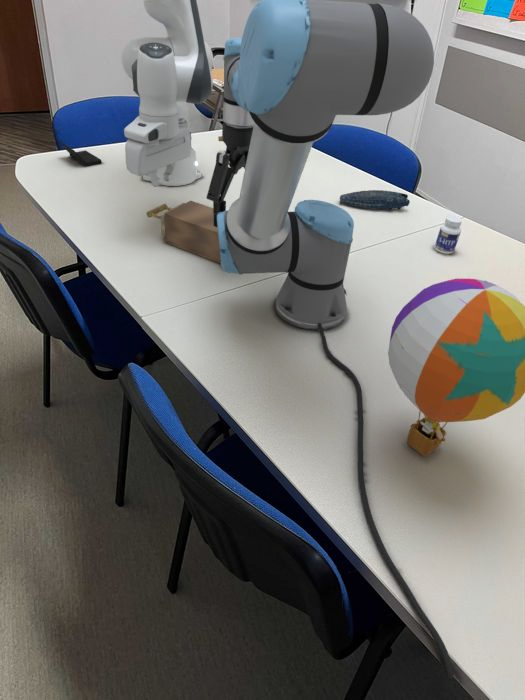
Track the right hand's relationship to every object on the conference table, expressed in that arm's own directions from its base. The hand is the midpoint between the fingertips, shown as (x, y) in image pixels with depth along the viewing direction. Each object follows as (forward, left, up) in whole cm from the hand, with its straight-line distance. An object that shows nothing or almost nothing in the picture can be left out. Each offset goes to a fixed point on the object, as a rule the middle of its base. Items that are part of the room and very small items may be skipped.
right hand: (235, 217), depth 123 cm
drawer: (+5, +11, -9) cm, 15 cm away
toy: (-54, -42, -10) cm, 69 cm away
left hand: (+8, +20, +2) cm, 22 cm away
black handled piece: (+49, +61, -10) cm, 79 cm away
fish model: (+43, -35, -10) cm, 56 cm away
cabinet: (+3, +6, -10) cm, 12 cm away
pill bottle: (+19, -54, -10) cm, 58 cm away
